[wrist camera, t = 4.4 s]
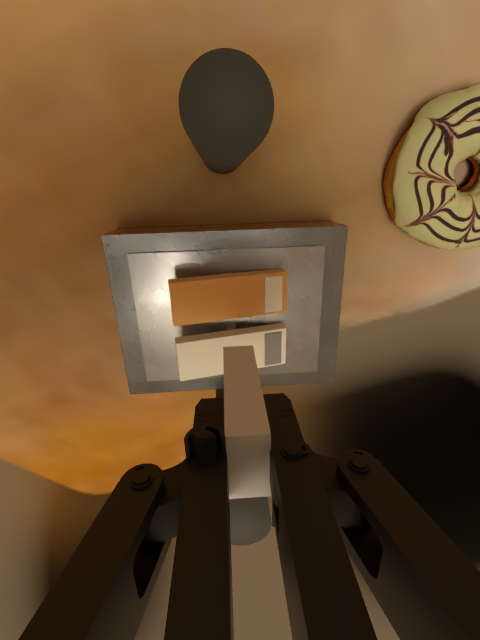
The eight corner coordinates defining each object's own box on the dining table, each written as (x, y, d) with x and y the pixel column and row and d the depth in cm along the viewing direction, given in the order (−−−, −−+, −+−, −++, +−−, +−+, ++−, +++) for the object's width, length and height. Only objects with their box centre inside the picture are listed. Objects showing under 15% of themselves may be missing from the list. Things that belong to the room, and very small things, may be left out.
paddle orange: (172, 320, 22) (174, 327, 21) (167, 279, 21) (169, 284, 20) (281, 307, 24) (287, 312, 23) (281, 268, 23) (288, 272, 21)
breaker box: (141, 368, 29) (127, 400, 25) (118, 228, 25) (96, 237, 20) (321, 357, 30) (339, 387, 26) (330, 220, 26) (354, 227, 21)
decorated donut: (390, 91, 23) (421, 73, 19) (537, 95, 24) (593, 78, 20) (368, 244, 27) (390, 252, 23) (495, 244, 27) (535, 251, 24)
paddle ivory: (178, 374, 23) (180, 382, 22) (174, 337, 22) (176, 344, 21) (280, 357, 25) (286, 364, 24) (280, 322, 24) (287, 328, 23)
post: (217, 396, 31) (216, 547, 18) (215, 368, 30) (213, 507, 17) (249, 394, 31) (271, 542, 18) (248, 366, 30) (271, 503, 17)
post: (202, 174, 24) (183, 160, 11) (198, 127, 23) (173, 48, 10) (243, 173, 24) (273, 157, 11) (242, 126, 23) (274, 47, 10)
